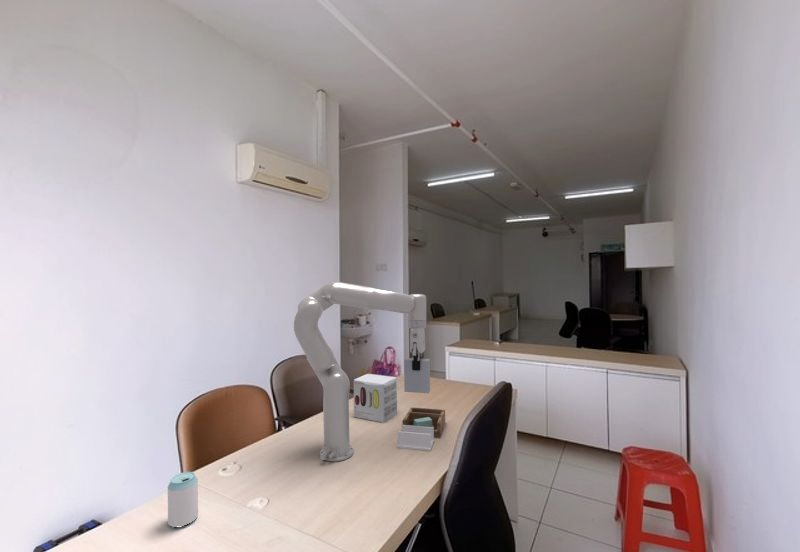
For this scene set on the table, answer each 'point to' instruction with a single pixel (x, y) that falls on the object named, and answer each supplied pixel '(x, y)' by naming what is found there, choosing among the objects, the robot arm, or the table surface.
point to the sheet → (417, 376)
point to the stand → (416, 438)
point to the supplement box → (375, 397)
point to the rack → (418, 413)
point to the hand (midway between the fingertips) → (417, 368)
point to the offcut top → (423, 422)
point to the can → (182, 499)
